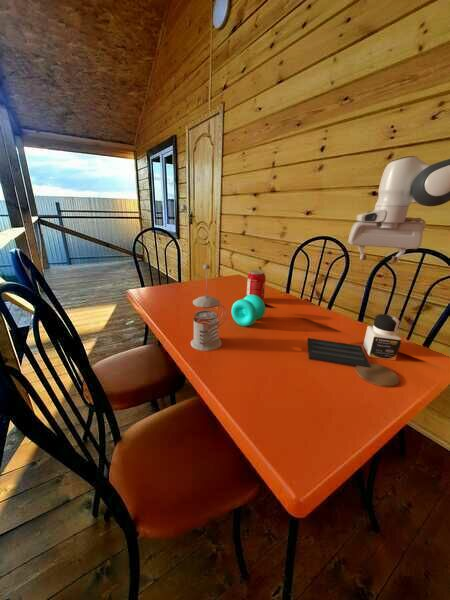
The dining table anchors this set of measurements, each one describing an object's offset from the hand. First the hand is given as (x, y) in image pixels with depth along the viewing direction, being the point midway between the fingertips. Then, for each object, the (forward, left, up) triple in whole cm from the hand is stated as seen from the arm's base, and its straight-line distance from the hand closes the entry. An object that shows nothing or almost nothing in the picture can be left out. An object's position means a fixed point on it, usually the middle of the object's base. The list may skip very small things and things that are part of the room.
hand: (378, 260), depth 83 cm
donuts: (+31, +28, -26) cm, 49 cm away
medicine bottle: (-10, +12, -26) cm, 30 cm away
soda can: (+43, +11, -26) cm, 51 cm away
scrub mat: (-1, +23, -26) cm, 34 cm away
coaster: (-13, +25, -26) cm, 38 cm away
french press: (+28, +49, -26) cm, 62 cm away
